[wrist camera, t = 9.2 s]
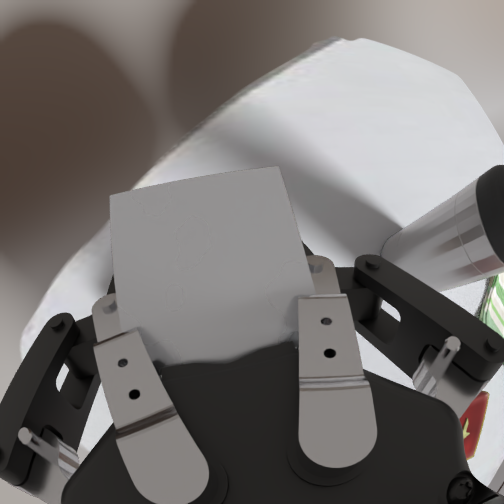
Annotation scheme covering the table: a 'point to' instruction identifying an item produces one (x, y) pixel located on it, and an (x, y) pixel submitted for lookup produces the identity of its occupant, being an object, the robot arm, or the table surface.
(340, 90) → the table surface
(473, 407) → the hardcover book
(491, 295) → the dish towel
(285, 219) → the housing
